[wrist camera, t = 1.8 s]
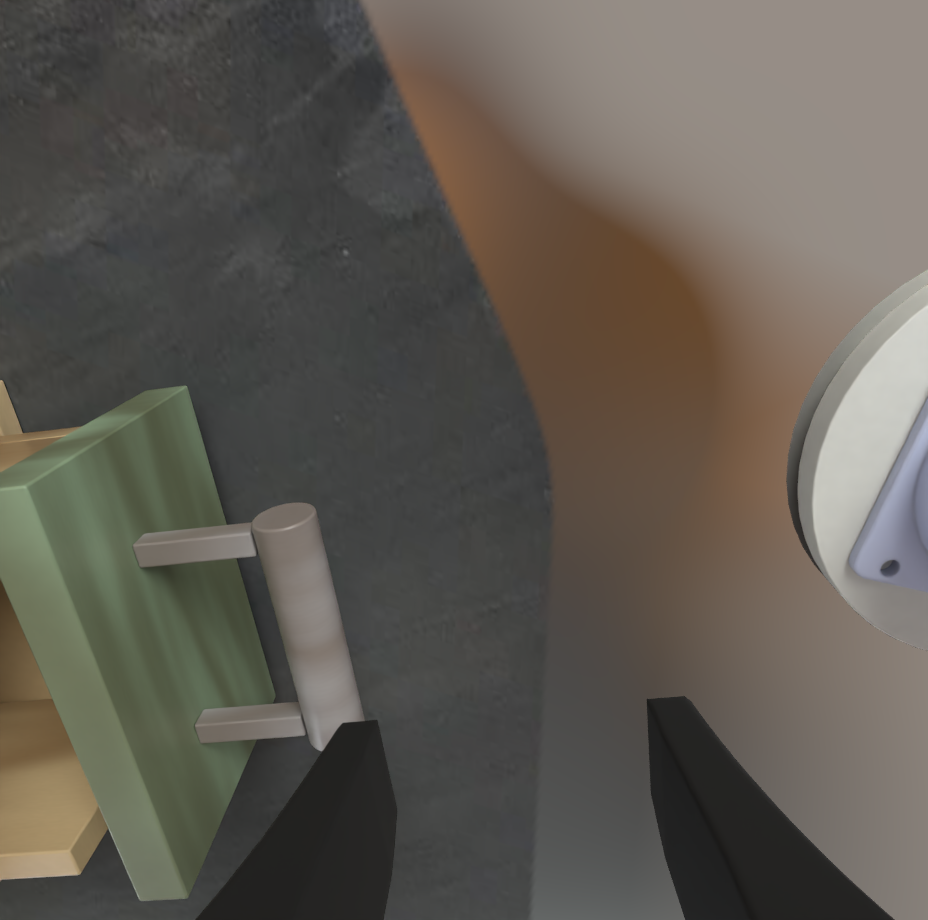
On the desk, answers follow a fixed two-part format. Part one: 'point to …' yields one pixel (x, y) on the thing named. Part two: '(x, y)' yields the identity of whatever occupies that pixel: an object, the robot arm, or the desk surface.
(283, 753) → the desk surface
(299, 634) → the drawer
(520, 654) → the desk surface
